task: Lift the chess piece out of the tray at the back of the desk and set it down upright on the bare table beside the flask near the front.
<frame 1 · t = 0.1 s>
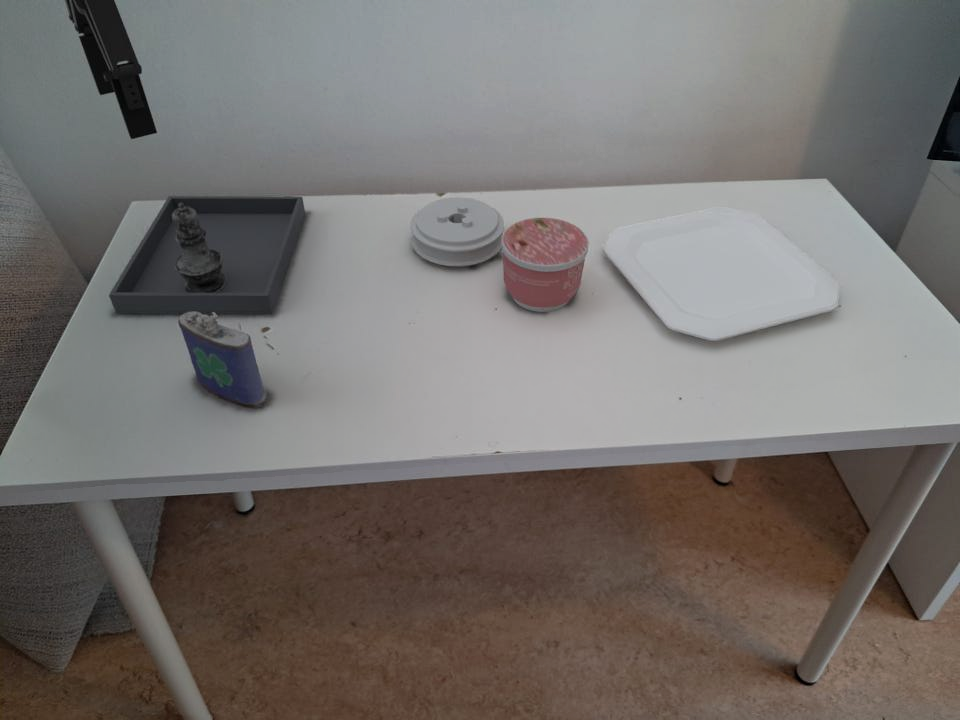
hand: (126, 112, 83), 21 cm above the table, tool pointing down, fingers open, 13 cm apart
tray: (219, 259, 98), on the table
container: (540, 294, 93), on the table
flask: (231, 392, 80), on the table
chess piece: (206, 285, 94), resting on tray
grey pulley wheel: (457, 246, 101), on the table
plate: (714, 278, 96), on the table
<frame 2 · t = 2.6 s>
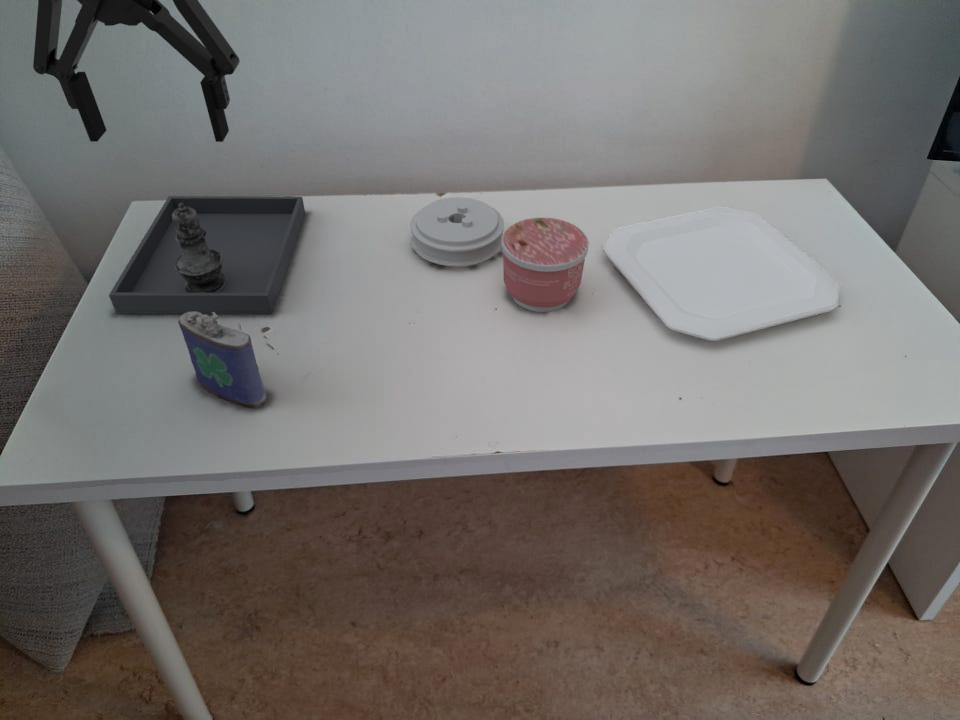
hand: (160, 136, 80), 20 cm above the table, tool pointing down, fingers open, 13 cm apart
nothing on the table moved.
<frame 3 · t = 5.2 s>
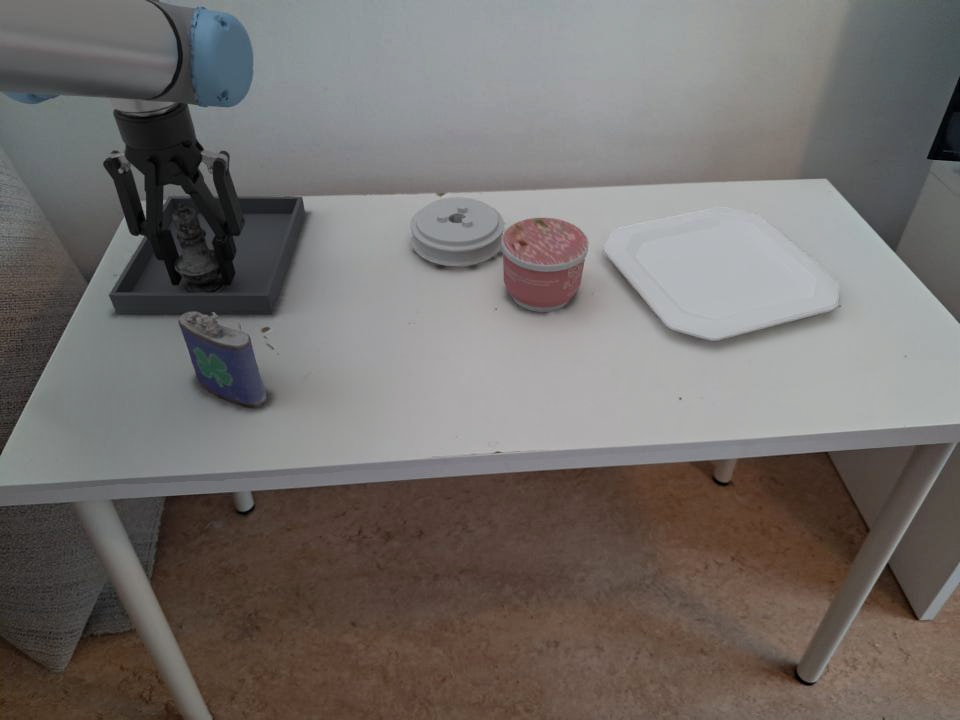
hand: (204, 278, 93), 1 cm above the table, tool pointing down, fingers closed on chess piece, 6 cm apart
chess piece: (206, 285, 94), resting on tray, touching gripper
everything else where it was.
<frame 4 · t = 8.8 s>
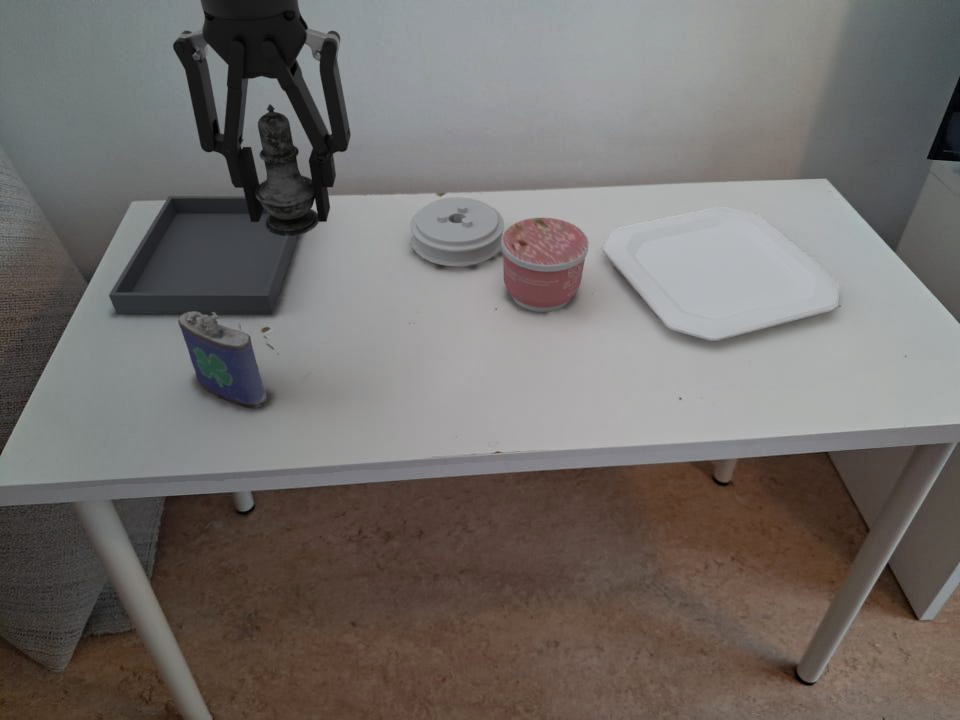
hand: (291, 214, 72), 19 cm above the table, tool pointing down, fingers closed on chess piece, 6 cm apart
chess piece: (292, 223, 73), point 17 cm above the table, touching gripper
everything else where it was.
when the fingers open (1 cm above the table, at t = 12.7 s): chess piece stays where it is, on the table.
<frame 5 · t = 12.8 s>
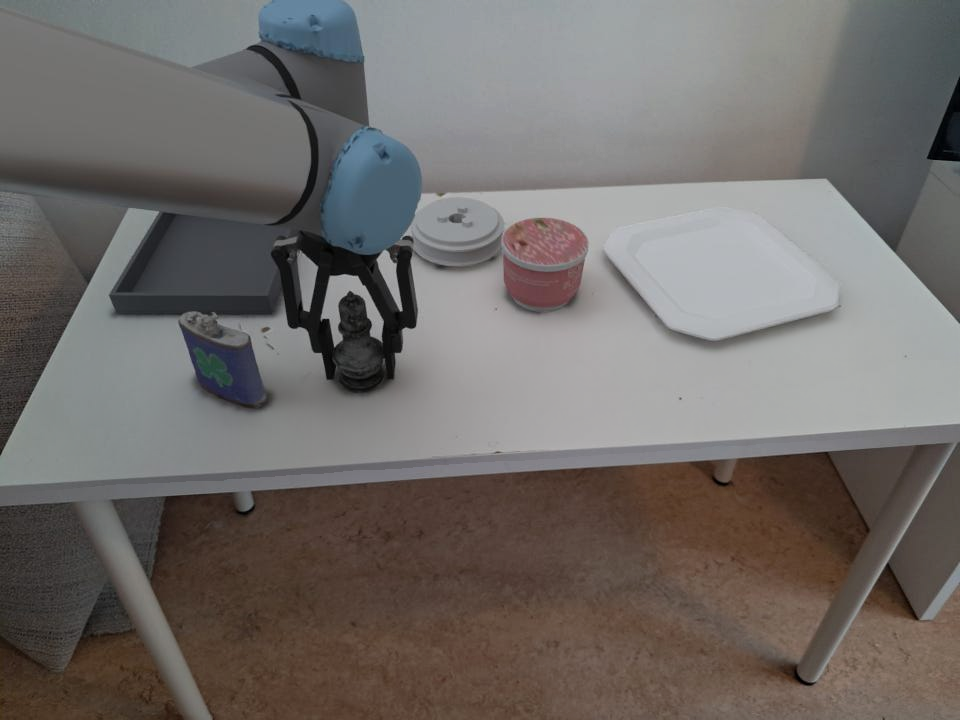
hand: (361, 371, 81), 1 cm above the table, tool pointing down, fingers open, 6 cm apart
chess piece: (362, 377, 82), on the table
everything else where it was.
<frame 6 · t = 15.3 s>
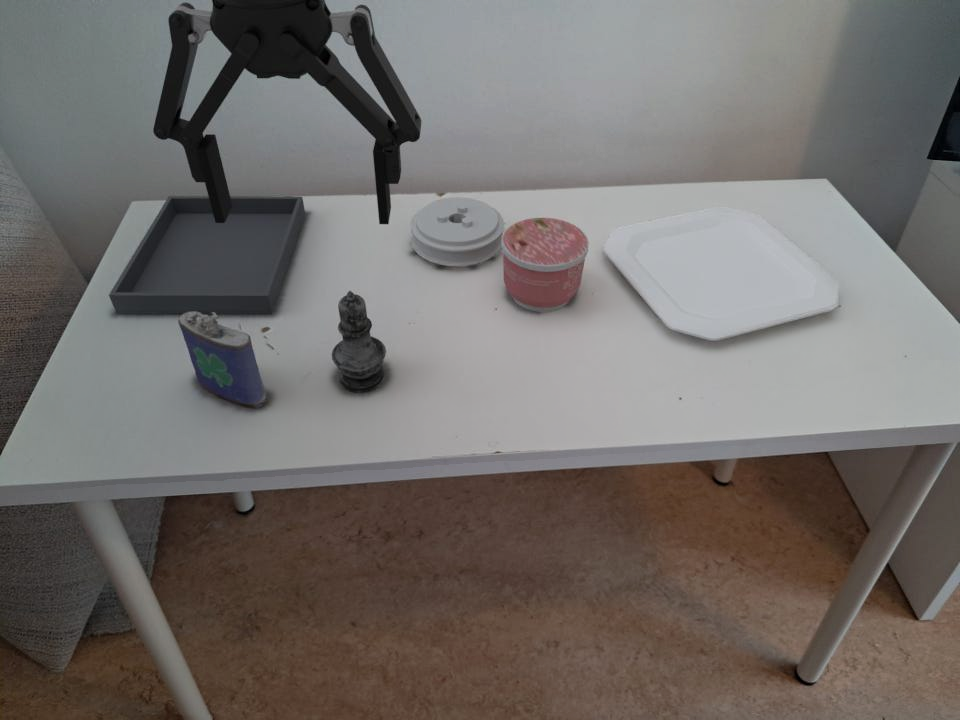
hand: (304, 215, 62), 24 cm above the table, tool pointing down, fingers open, 13 cm apart
nothing on the table moved.
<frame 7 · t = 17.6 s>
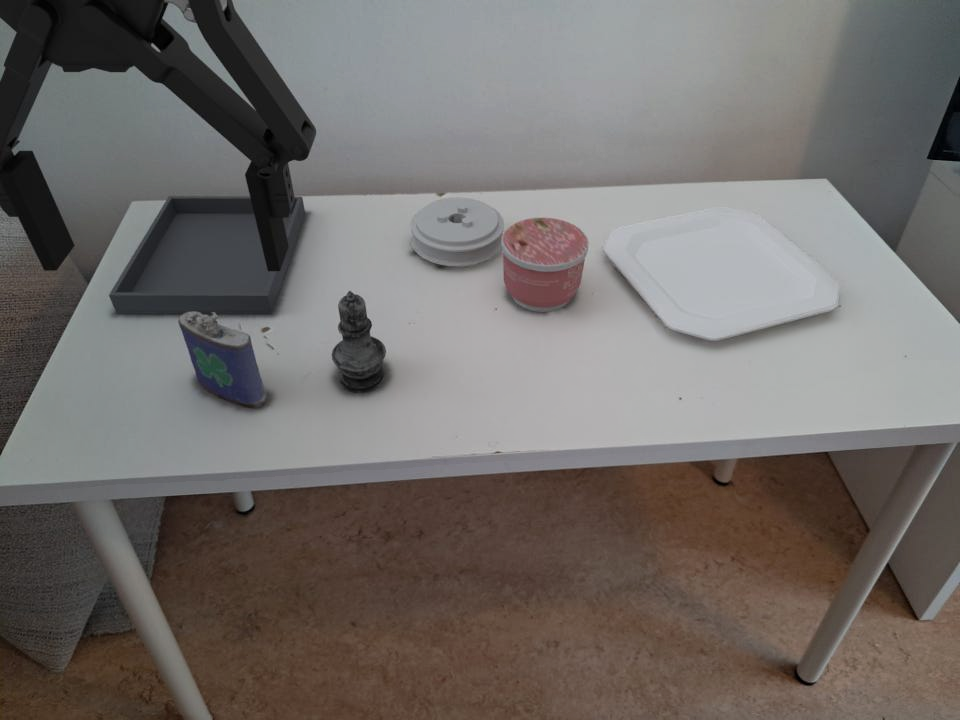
hand: (169, 258, 45), 31 cm above the table, tool pointing down, fingers open, 13 cm apart
nothing on the table moved.
at the end: chess piece inside the target area on the table beside the flask (0.1 cm from its centre), on the table; chess piece tilted 0°; chess piece touching table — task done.
